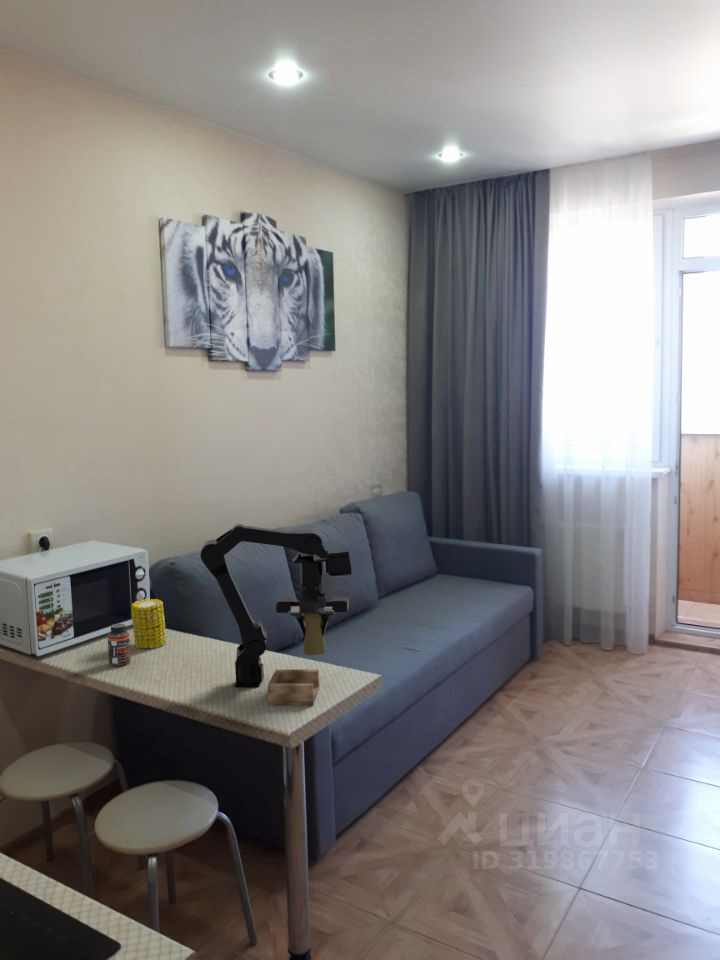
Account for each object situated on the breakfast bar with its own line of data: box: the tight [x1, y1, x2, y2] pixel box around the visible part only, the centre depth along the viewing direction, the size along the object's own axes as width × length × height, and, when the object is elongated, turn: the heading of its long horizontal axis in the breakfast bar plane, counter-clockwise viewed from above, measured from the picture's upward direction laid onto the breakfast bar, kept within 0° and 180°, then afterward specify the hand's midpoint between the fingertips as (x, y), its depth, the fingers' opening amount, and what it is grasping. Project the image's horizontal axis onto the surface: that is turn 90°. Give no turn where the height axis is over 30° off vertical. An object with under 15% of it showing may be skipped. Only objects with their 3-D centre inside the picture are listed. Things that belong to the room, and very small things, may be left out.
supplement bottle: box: [107, 623, 132, 667], centre depth 213 cm, size 6×6×11 cm
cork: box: [303, 610, 327, 656], centre depth 197 cm, size 6×6×11 cm
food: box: [130, 598, 167, 649], centre depth 229 cm, size 15×12×10 cm
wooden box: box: [267, 669, 321, 707], centre depth 185 cm, size 11×12×5 cm
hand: (314, 636), depth 197 cm, fingers closed on cork, 4 cm apart
